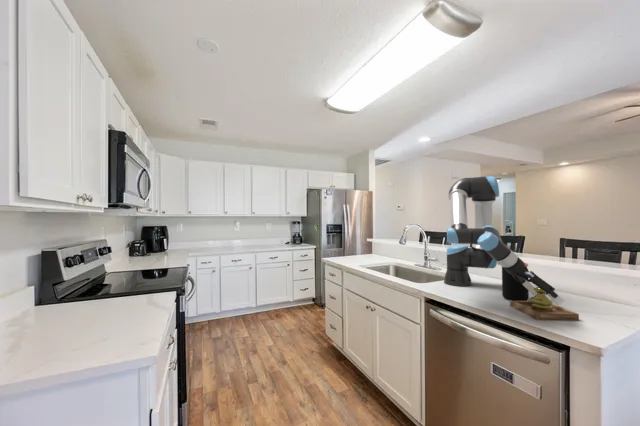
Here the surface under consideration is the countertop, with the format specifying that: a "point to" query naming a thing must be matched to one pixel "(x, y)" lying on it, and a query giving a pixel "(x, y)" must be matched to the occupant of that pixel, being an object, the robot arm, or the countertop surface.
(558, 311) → the tray
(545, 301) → the olive green tiered piece
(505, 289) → the coffee jar
